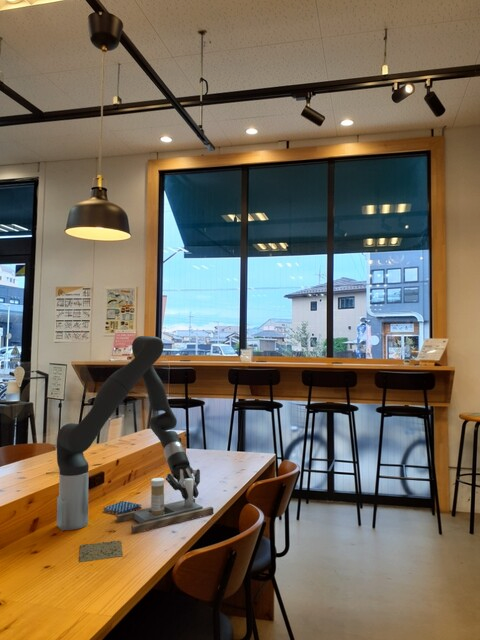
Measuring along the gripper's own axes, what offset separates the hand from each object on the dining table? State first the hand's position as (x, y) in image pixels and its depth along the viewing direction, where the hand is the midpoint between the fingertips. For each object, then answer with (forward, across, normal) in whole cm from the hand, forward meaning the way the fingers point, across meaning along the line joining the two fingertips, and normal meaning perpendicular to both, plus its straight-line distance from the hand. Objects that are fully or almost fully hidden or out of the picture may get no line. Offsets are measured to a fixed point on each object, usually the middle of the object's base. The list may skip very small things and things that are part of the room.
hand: (191, 497), depth 168 cm
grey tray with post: (+3, -8, +5) cm, 10 cm away
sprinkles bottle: (+3, -12, +5) cm, 14 cm away
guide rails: (+3, -9, +5) cm, 11 cm away
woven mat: (-9, -18, +18) cm, 27 cm away
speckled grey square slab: (+14, -37, -4) cm, 39 cm away
